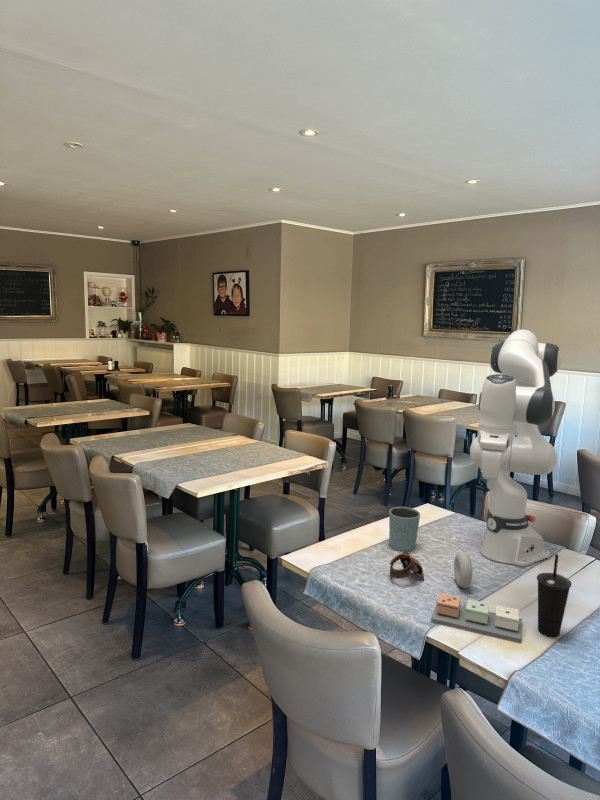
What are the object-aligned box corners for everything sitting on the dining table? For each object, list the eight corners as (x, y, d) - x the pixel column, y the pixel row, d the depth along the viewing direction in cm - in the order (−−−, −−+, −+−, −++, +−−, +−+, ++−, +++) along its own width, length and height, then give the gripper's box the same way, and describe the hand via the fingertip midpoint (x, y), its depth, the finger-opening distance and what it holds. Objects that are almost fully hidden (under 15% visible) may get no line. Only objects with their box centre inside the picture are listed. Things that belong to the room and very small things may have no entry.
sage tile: (465, 619, 138) (466, 608, 137) (467, 609, 143) (468, 598, 142) (487, 624, 136) (488, 613, 135) (488, 613, 141) (489, 603, 140)
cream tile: (494, 625, 135) (495, 614, 135) (496, 615, 140) (497, 604, 139) (517, 630, 133) (518, 619, 133) (518, 620, 138) (519, 609, 138)
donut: (451, 577, 163) (453, 545, 162) (463, 578, 163) (465, 545, 162) (460, 594, 153) (462, 560, 152) (472, 594, 153) (475, 560, 152)
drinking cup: (525, 623, 139) (533, 548, 136) (554, 623, 140) (563, 548, 137) (541, 641, 132) (550, 561, 129) (572, 640, 133) (581, 561, 130)
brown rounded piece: (429, 588, 157) (418, 567, 155) (398, 598, 159) (387, 577, 157) (422, 560, 168) (412, 539, 166) (393, 570, 170) (383, 550, 168)
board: (430, 622, 139) (431, 612, 138) (437, 603, 148) (437, 594, 148) (520, 643, 131) (521, 633, 131) (521, 622, 140) (522, 613, 140)
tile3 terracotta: (436, 612, 140) (437, 601, 140) (439, 603, 145) (440, 592, 145) (457, 617, 138) (458, 606, 138) (460, 607, 143) (460, 597, 143)
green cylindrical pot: (403, 538, 191) (406, 505, 189) (424, 549, 183) (427, 514, 181) (380, 543, 186) (382, 509, 184) (401, 555, 178) (403, 519, 176)
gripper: (485, 428, 156) (481, 476, 158) (479, 442, 138) (474, 496, 140) (509, 431, 154) (505, 479, 156) (506, 445, 135) (501, 500, 137)
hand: (490, 487), depth 148 cm, fingers closed
